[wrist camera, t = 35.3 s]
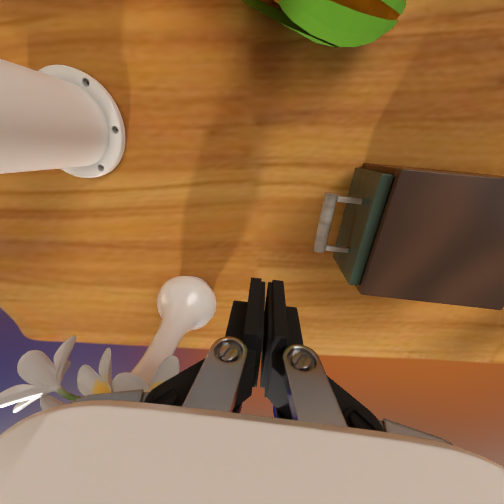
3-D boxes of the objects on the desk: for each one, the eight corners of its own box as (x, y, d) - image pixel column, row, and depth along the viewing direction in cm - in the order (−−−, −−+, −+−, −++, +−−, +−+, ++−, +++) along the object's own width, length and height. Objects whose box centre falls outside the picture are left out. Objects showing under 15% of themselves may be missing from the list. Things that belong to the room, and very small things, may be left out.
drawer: (304, 253, 34) (312, 280, 27) (321, 164, 29) (337, 169, 22) (433, 267, 34) (476, 299, 27) (473, 178, 29) (540, 188, 21)
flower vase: (136, 246, 37) (-80, 402, 14) (249, 271, 37) (214, 463, 14) (137, 310, 42) (-20, 498, 20) (235, 331, 43) (194, 541, 20)
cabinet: (338, 258, 35) (360, 294, 26) (363, 162, 30) (401, 168, 21) (443, 269, 35) (501, 310, 26) (489, 174, 29) (582, 185, 20)
